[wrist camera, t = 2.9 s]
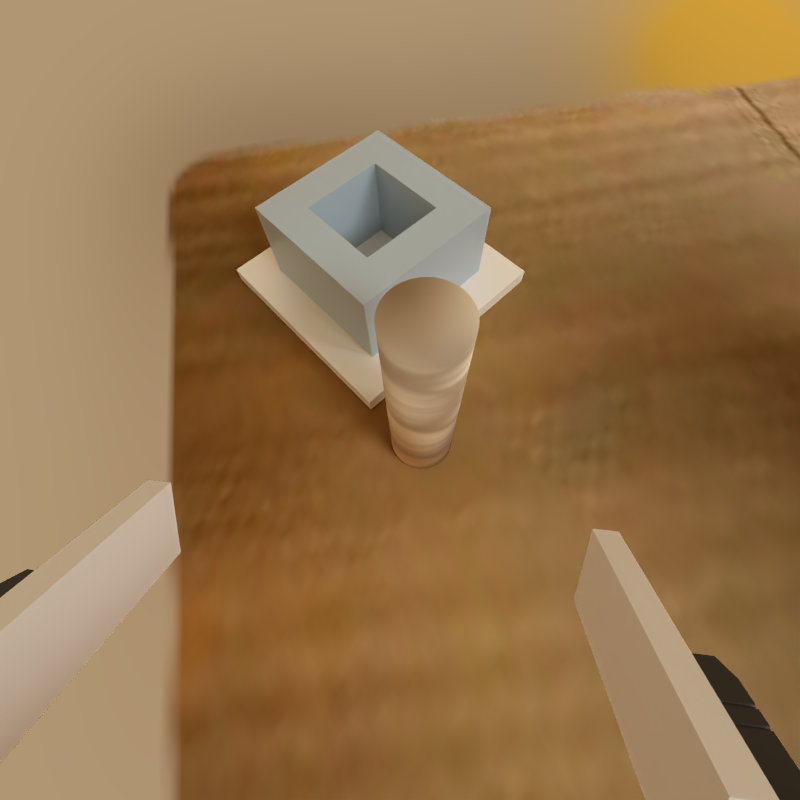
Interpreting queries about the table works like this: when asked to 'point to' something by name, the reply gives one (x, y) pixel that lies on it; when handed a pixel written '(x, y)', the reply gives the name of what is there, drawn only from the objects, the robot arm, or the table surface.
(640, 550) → the table surface
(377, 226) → the socket block
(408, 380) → the birch peg
